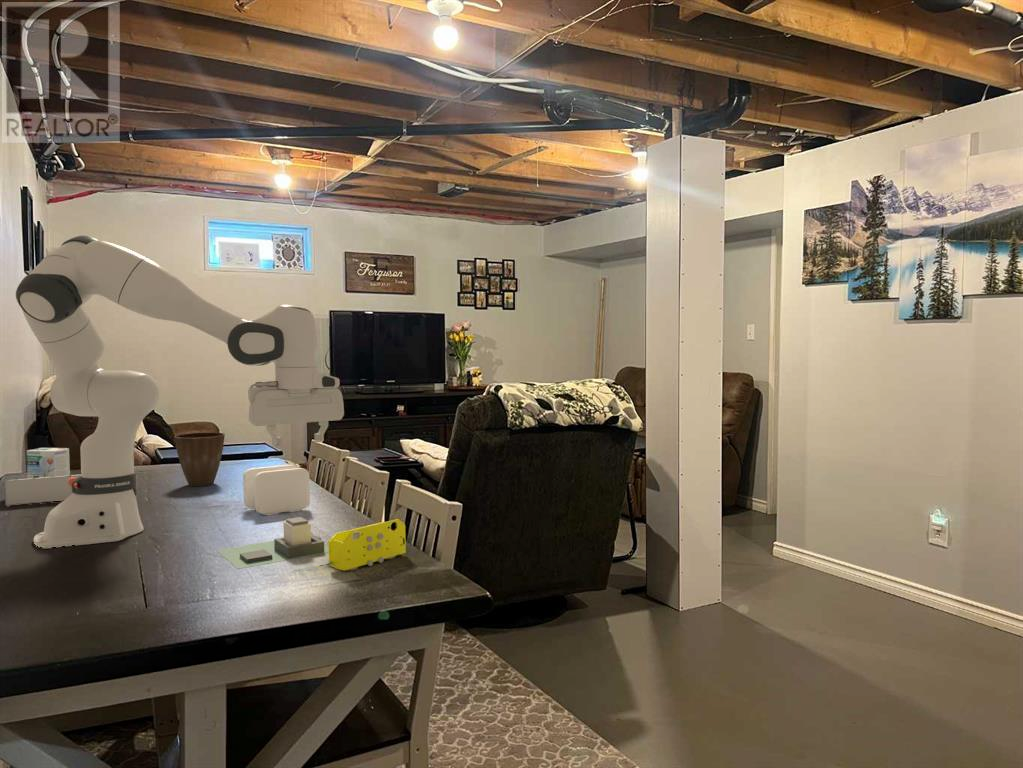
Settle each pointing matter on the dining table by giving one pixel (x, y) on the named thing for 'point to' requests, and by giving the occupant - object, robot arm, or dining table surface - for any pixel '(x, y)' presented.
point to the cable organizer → (276, 489)
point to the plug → (297, 531)
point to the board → (272, 552)
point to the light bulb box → (48, 462)
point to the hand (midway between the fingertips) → (298, 443)
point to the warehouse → (38, 489)
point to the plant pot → (200, 456)
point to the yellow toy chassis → (367, 545)
